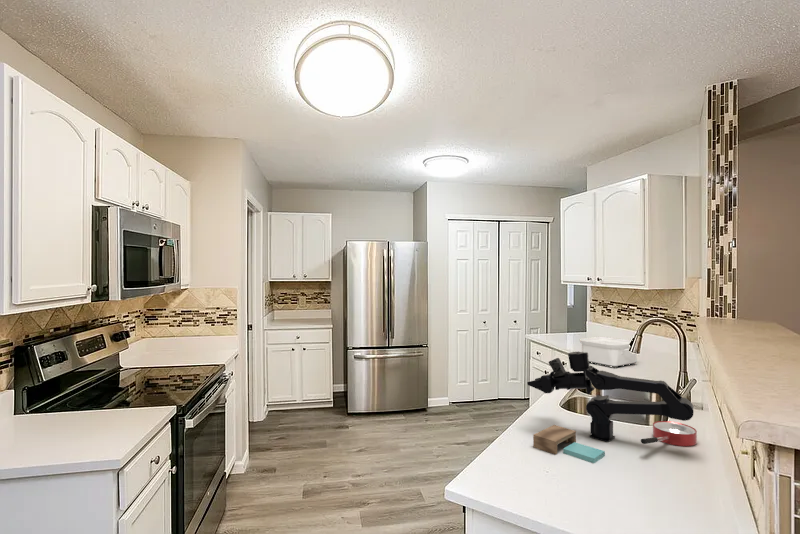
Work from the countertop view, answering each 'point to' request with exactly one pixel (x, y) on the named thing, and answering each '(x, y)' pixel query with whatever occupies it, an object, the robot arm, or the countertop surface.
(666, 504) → the countertop surface
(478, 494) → the countertop surface
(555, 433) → the overhang
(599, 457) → the teal rectangular slab
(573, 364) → the robot arm
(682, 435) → the frying pan
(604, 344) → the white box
